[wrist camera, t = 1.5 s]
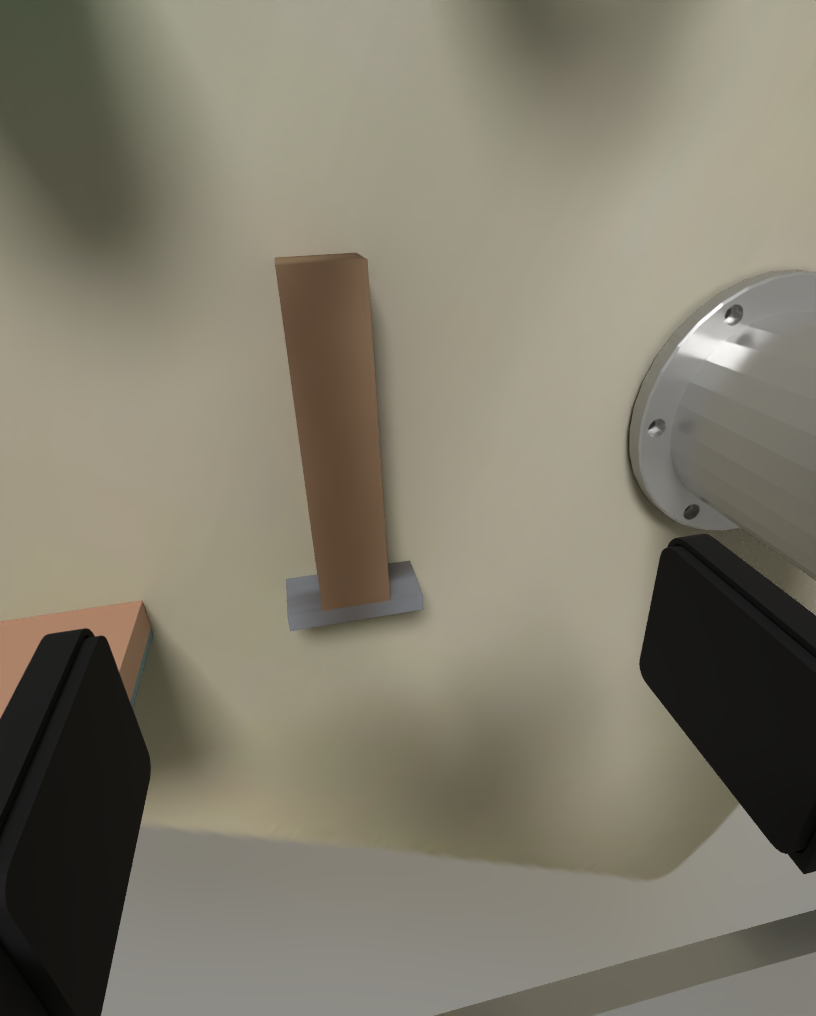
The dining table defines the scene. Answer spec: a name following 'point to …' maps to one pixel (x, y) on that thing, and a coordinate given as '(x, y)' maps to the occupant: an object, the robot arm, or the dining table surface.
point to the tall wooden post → (339, 444)
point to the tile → (125, 626)
